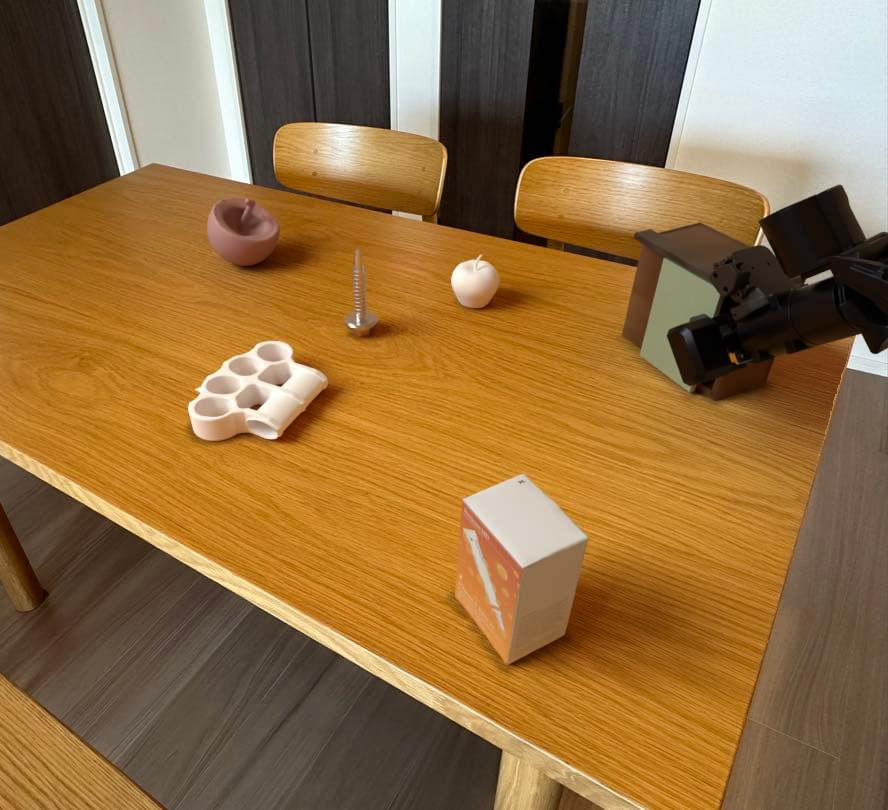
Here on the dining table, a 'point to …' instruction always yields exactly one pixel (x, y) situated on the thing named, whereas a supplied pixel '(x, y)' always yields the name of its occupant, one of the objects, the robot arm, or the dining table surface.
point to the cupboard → (697, 254)
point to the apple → (475, 283)
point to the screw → (360, 301)
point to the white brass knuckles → (255, 394)
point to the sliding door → (676, 314)
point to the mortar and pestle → (242, 231)
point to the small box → (518, 566)
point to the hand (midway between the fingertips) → (697, 353)
